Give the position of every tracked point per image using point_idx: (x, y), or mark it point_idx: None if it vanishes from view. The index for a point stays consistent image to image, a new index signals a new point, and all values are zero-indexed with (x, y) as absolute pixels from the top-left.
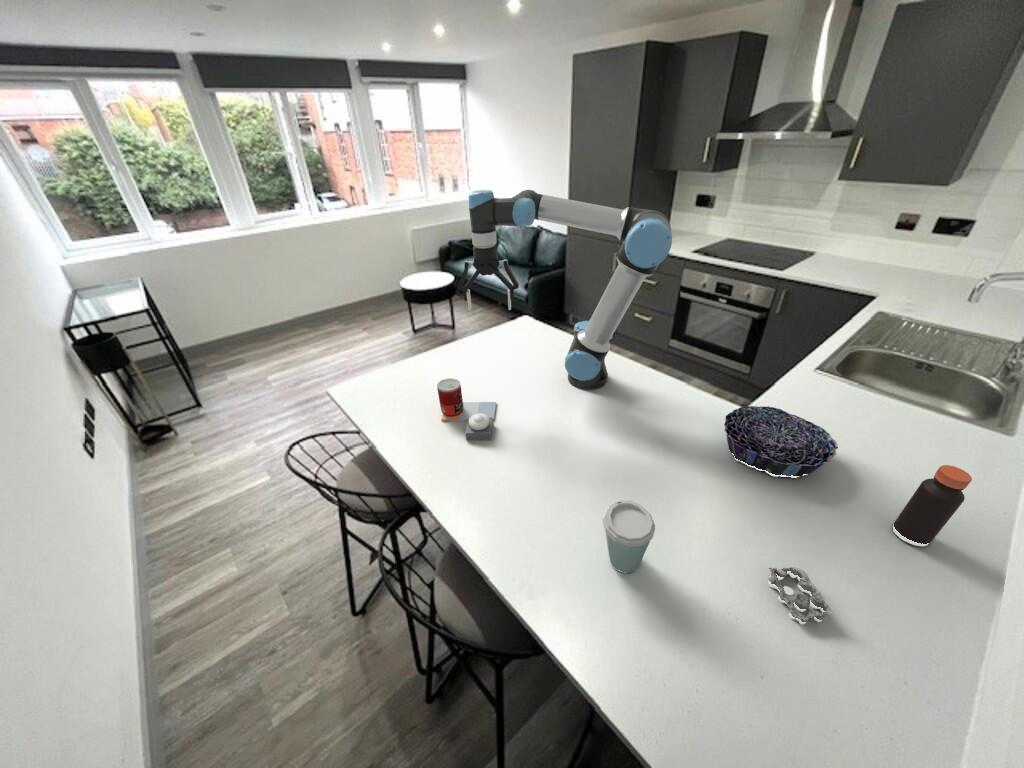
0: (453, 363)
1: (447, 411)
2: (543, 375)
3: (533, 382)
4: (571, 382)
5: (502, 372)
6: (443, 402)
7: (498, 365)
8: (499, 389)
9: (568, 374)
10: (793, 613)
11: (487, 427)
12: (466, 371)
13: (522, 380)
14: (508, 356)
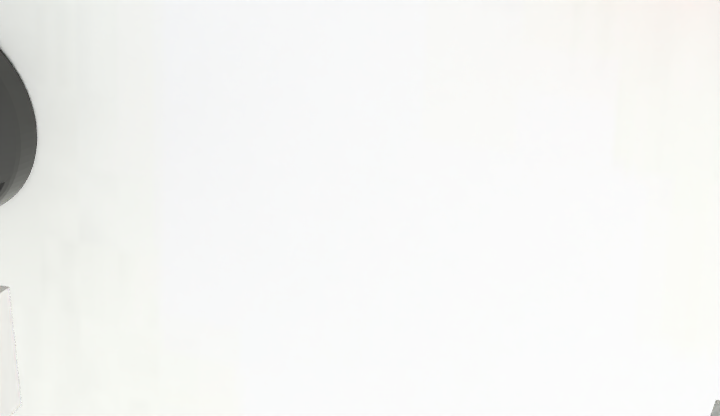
0: (657, 392)
1: None
2: (161, 185)
3: (213, 124)
4: (10, 75)
5: (379, 251)
6: None
7: (398, 324)
8: (403, 78)
9: (13, 127)
10: None
11: None
12: (586, 297)
13: (272, 153)
14: (341, 400)
